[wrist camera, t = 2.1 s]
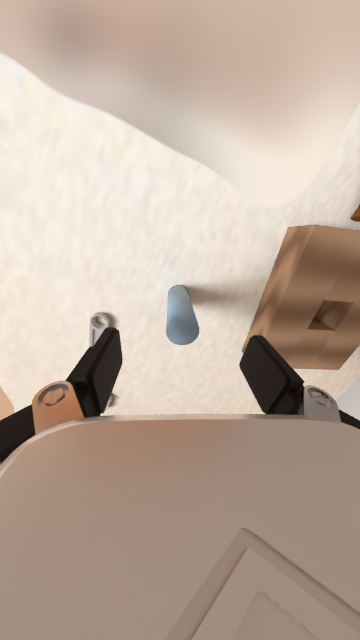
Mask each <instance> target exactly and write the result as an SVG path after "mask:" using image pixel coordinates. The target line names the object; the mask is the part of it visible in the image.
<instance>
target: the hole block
mask: <svg viewBox="0 0 360 640" xmlns="http://www.w3.org/2000/svg"><path fill="white" fill-rule="evenodd" d="M253 335H262V336H264V337H265V339H266V340H267V341H268V342H269V343H270V344H271V345H272V346H273V347H274V349H275V350H276V351H277V352H278V353H279V354H280V355H281V356H282V357H283V359H284V360H285V361H286V362H287V363H288V364H289V365H290V366H291V367H292V368H297V369H326V370H339V369H340V367H341V366H342V365H343V364H344V363H345V361H346V360H347V359H348V358H349V357H350V355H351V354H352V353H353V352H354V351H355V349H356V348H357V347H358V346H359V345H360V231H357V230H350V229H342V228H335V227H327V226H319V225H308V226H297V227H288V230H287V232H286V235H285V238H284V240H283V243H282V245H281V248H280V251H279V253H278V256H277V259H276V261H275V264H274V267H273V269H272V272H271V275H270V277H269V280H268V283H267V285H266V288H265V291H264V293H263V296H262V299H261V301H260V304H259V307H258V309H257V312H256V315H255V317H254V320H253V323H252V325H251V328H250V331H249V333H248V336H247V339H246V341H245V344H244V347H243V349H242V352H243V354H244V352H245V349H246V347H247V344H248V342H249V339H250V337H252V336H253Z"/></svg>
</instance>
